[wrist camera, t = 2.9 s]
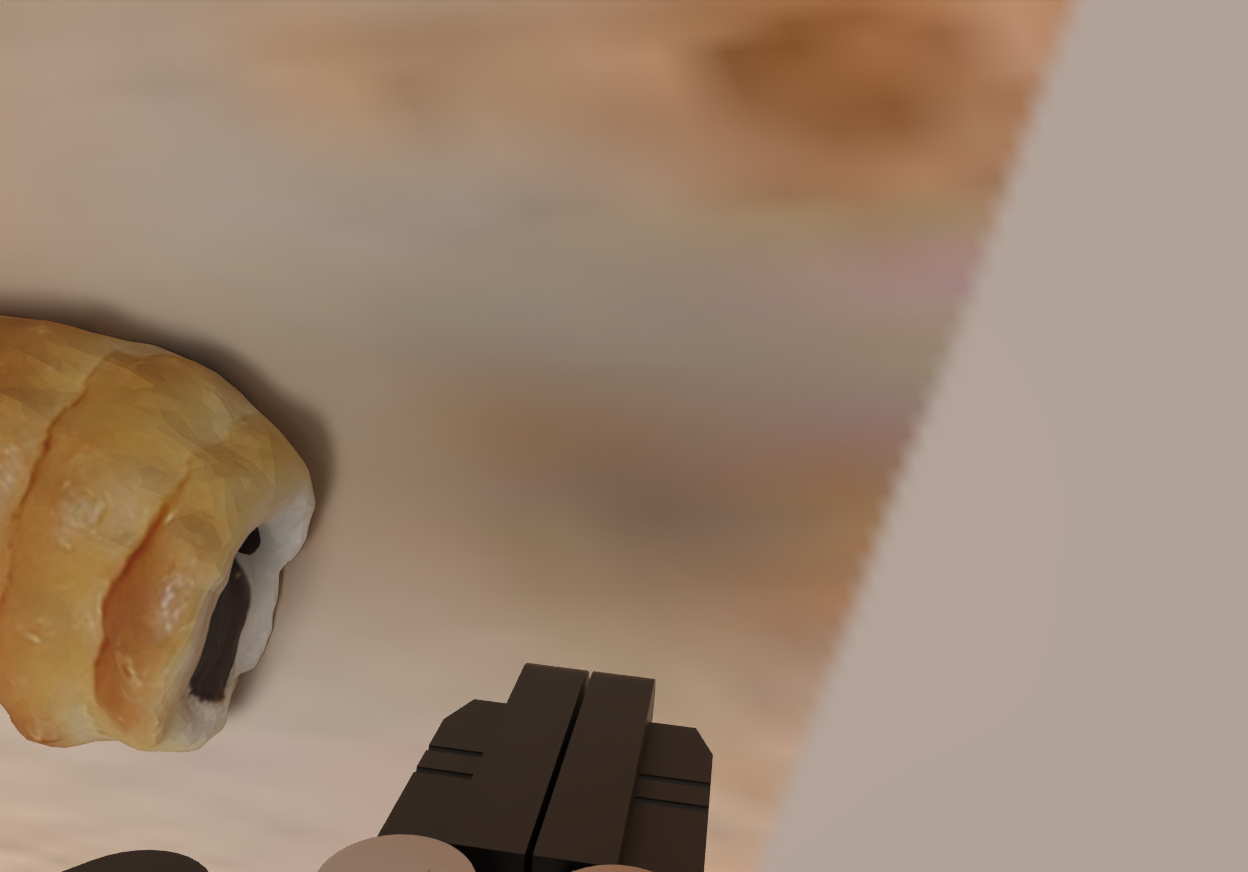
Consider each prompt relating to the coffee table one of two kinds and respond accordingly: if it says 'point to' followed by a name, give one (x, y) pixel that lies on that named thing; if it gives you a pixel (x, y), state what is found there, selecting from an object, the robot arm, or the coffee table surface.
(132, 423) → the pastry
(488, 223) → the coffee table surface
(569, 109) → the coffee table surface
